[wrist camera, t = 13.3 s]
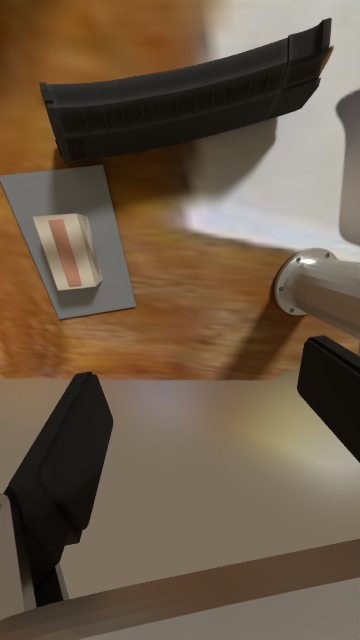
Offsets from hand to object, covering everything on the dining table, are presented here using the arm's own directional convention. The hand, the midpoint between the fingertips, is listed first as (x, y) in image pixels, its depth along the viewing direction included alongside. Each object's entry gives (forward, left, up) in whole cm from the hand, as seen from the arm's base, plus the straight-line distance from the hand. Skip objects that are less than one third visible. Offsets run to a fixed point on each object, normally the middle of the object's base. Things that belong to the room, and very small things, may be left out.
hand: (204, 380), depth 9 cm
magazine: (-5, -18, -27) cm, 33 cm away
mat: (+12, -5, -26) cm, 30 cm away
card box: (+12, -5, -26) cm, 29 cm away
